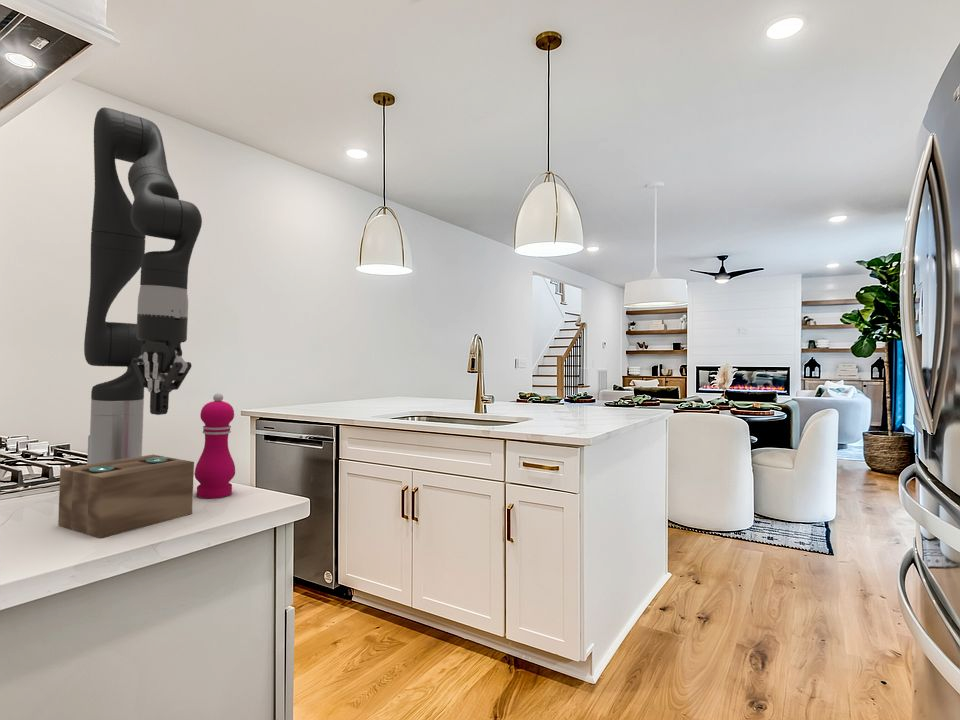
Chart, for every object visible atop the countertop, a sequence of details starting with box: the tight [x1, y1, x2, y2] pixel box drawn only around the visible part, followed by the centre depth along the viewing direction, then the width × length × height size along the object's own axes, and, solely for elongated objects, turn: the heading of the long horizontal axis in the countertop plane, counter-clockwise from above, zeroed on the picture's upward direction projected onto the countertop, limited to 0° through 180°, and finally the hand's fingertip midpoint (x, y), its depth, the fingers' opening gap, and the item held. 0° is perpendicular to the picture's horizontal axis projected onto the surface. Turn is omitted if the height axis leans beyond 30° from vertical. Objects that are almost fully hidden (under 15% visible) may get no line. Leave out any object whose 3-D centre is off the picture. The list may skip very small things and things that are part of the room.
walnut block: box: [57, 454, 195, 539], centre depth 90 cm, size 11×15×9 cm
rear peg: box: [146, 456, 167, 464], centre depth 94 cm, size 3×3×8 cm
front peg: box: [89, 466, 114, 474], centre depth 85 cm, size 3×3×8 cm
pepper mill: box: [194, 392, 236, 499], centre depth 107 cm, size 7×7×20 cm
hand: (158, 414), depth 94 cm, fingers closed
